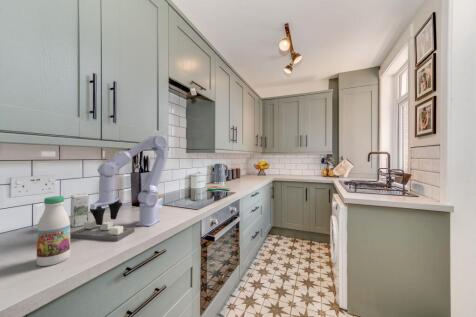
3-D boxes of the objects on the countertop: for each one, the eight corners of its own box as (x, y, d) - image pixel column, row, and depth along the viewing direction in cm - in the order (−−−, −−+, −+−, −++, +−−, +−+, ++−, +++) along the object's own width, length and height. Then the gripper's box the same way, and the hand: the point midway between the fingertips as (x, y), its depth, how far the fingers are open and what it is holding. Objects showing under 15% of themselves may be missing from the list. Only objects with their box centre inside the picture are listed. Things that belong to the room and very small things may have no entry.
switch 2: (105, 227, 87) (105, 221, 87) (113, 227, 87) (113, 221, 87) (100, 229, 84) (100, 223, 84) (107, 230, 84) (107, 224, 84)
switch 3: (115, 231, 82) (115, 225, 82) (123, 232, 82) (123, 226, 82) (109, 234, 79) (109, 228, 79) (117, 234, 79) (117, 228, 79)
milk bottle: (36, 260, 63) (37, 196, 63) (68, 252, 68) (69, 193, 68) (36, 270, 57) (36, 200, 57) (71, 260, 63) (71, 197, 62)
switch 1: (89, 225, 89) (90, 220, 89) (97, 226, 88) (97, 220, 88) (83, 228, 86) (83, 222, 86) (91, 228, 85) (91, 222, 85)
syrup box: (85, 222, 99) (85, 193, 99) (88, 225, 95) (88, 194, 95) (70, 225, 94) (70, 194, 94) (73, 228, 91) (73, 196, 90)
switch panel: (90, 228, 90) (90, 225, 90) (134, 231, 87) (134, 228, 87) (68, 237, 80) (68, 233, 80) (117, 241, 77) (117, 237, 77)
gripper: (111, 187, 93) (111, 216, 93) (83, 192, 79) (83, 226, 79) (125, 188, 92) (125, 217, 92) (99, 193, 78) (98, 228, 78)
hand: (106, 221), depth 86 cm, fingers open, 7 cm apart
